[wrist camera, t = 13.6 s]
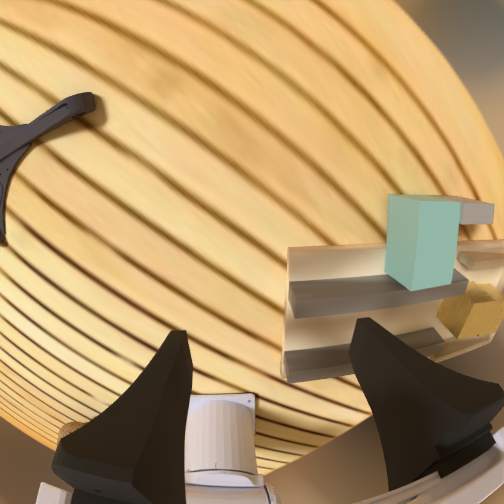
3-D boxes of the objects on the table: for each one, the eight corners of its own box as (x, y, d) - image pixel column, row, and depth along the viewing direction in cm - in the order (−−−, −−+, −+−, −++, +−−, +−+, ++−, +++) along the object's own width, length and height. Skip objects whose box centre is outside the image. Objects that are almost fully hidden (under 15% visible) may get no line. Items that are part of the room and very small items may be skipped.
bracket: (121, 194, 19) (107, 204, 16) (0, 240, 19) (-17, 252, 16) (89, 22, 13) (73, 11, 10) (-30, 104, 13) (-48, 106, 10)
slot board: (475, 330, 28) (489, 345, 25) (280, 371, 26) (285, 398, 23) (507, 239, 22) (527, 251, 19) (287, 247, 21) (298, 270, 17)
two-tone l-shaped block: (456, 196, 20) (450, 261, 21) (385, 194, 19) (381, 269, 21) (494, 204, 15) (484, 278, 17) (423, 201, 15) (414, 293, 16)
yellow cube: (477, 312, 25) (496, 332, 21) (458, 315, 24) (477, 337, 21) (490, 283, 23) (511, 301, 20) (471, 284, 23) (494, 303, 19)
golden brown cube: (459, 312, 24) (479, 334, 21) (435, 315, 24) (456, 339, 20) (472, 280, 23) (495, 300, 19) (450, 281, 22) (474, 303, 19)
